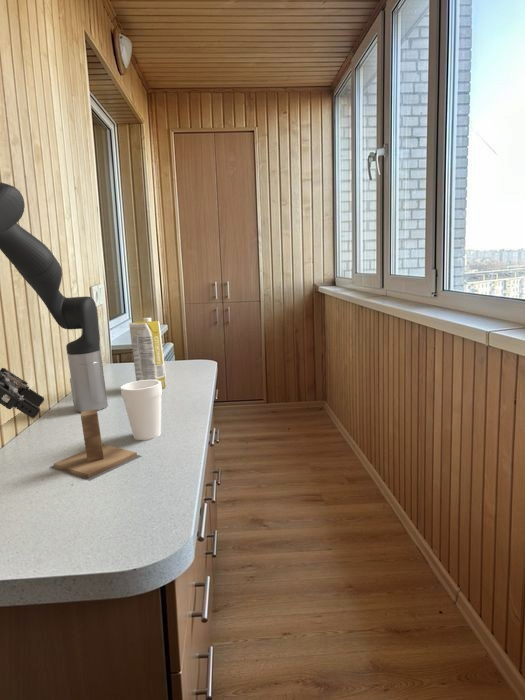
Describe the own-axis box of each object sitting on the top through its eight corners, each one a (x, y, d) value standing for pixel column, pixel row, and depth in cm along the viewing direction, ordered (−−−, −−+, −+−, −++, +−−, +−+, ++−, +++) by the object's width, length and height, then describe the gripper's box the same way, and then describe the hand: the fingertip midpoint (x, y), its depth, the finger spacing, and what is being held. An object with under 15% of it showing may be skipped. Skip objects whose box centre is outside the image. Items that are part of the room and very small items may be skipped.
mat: (49, 468, 101) (49, 467, 101) (101, 447, 112) (101, 445, 112) (90, 482, 93) (89, 480, 93) (142, 457, 104) (141, 455, 104)
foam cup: (157, 444, 111) (150, 389, 109) (120, 444, 113) (113, 390, 111) (173, 429, 120) (167, 379, 118) (138, 429, 122) (132, 380, 120)
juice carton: (170, 386, 164) (162, 316, 159) (153, 393, 157) (145, 319, 153) (150, 384, 169) (142, 316, 164) (133, 390, 162) (124, 319, 158)
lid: (54, 467, 101) (46, 417, 99) (102, 447, 111) (95, 401, 109) (88, 478, 94) (81, 425, 92) (137, 456, 104) (130, 407, 102)
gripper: (-32, 350, 85) (49, 402, 91) (-15, 340, 99) (54, 386, 104) (-60, 384, 85) (22, 434, 90) (-40, 369, 98) (31, 413, 104)
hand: (39, 408), depth 97 cm, fingers open, 8 cm apart
